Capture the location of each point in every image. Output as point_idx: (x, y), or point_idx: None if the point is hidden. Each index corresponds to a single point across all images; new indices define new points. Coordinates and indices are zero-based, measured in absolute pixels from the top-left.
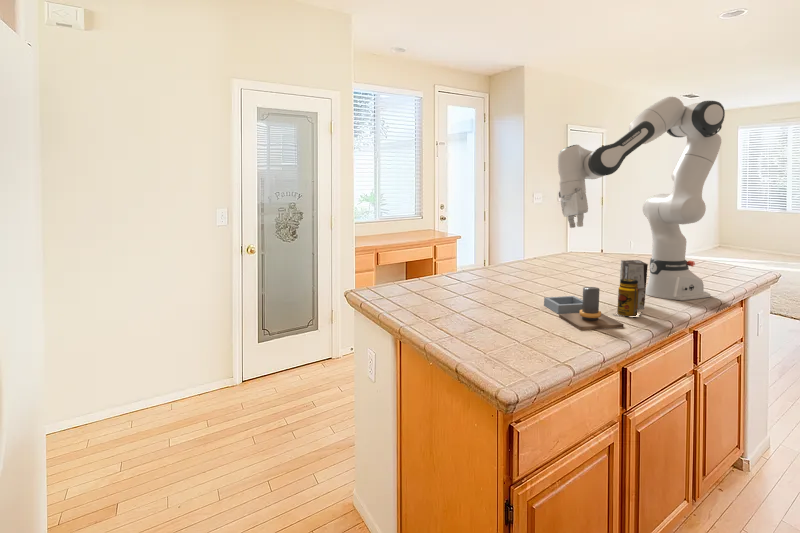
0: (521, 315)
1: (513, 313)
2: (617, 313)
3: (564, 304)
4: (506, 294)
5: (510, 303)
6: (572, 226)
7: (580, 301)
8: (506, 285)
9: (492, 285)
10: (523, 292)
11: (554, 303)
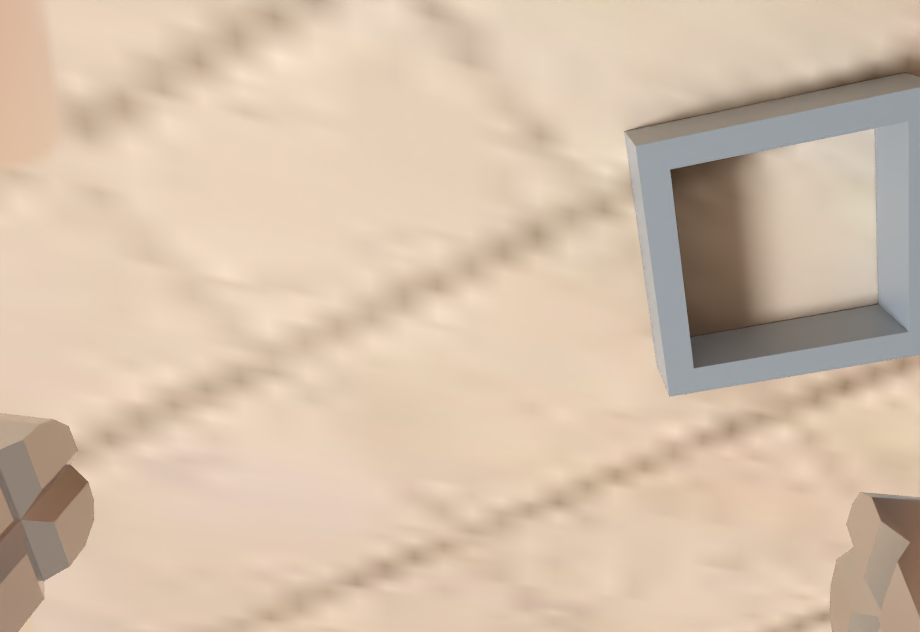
0: None
1: None
2: None
3: (916, 300)
4: (325, 546)
5: (585, 557)
6: (66, 510)
7: (823, 137)
8: None
9: None
10: (248, 429)
11: (864, 363)
